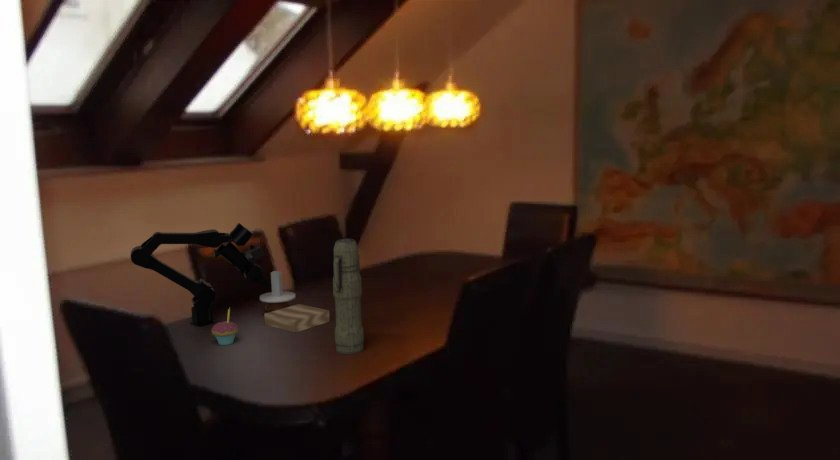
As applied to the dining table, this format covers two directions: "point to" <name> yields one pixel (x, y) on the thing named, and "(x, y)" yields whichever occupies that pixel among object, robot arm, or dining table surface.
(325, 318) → the trivet
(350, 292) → the thermos
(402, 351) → the dining table surface
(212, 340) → the dining table surface
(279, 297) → the white peg stand
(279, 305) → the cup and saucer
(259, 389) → the dining table surface
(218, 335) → the cupcake
